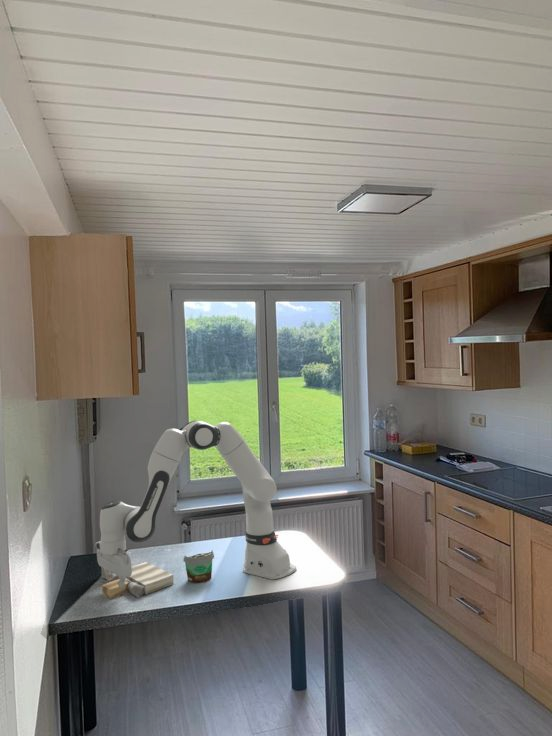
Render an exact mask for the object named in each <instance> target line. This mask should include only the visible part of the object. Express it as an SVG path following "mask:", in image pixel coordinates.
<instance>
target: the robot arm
mask: <svg viewBox="0 0 552 736" xmlns="http://www.w3.org/2000/svg"><path fill="white" fill-rule="evenodd" d="M214 447H215V448H216V450H217V451H218V453H219V454H220V455H221V457H222V458H223V460H224V462H225V463H226V464H227V467H228V468H230V470H231V471H232V473H233V474H234V475H235V477H236V478H237V479H238V480H239V482H240V483H241V488H242V489H241V490H242V498H243V504H244V511H245V524H246V525H245V526H246V530H245V542H246V546H245V551H244V552H245V553H244V563H243V569H242V572H243V573H245V574H249V575H253V576H257V577H262V578H265V579H268V580H269V579H270V580H276V579H283V578H284V577H287V576H289V575H292V574H293V573H294V572H295V571H296V570H297V566H296V565H294V564H292V563H291V561H290V556H289V555H290V554H289V553H288V552H287V550H286V549H285V548H284V547H283V546H282V545H281V544H280V542H279V541H278V540H277V538H279V537H278V536H279V535H278V534H276V532H275V530H274V520H273V519H274V517H273V516H274V515H273V512H274V511H273V509H272V506H271V505H272V504H271V501H272V500H273V499H274V498H275V496H277V495H276V494H277V490H278V489H277V484H276V482H275V480H274V479H273V477H272V476H271V474H270V473H269V472H268V471H267V469H266V468H265V466H264V465H263V464H262V463H261V461H260V460H259V459H258V458H257V456H256V455H255V453H253V451H252V449H251V448H250V447H249V445H248V443H247V442H246V441H245V439H244V438H243V436H242V434H241V433H240V432H239V431H238V430H237V429H236V428H235V427H234V426H233V425H232V424H231V423H230V422H227V421H221V422H219V423H217V424H215V425H212V424H210V423H208V422H206V421H203V420H192V421H190V422H188V423H186V424H185V425H184V426H182V427H181V428H180V429H178V428H168V429H166V430H165V431H164V432H163V433H162V435H161V436H160V437H159V439H158V441H157V443H156V444H155V446H154V448H153V450H152V452H151V455H150V457H149V460H148V464H147V473H148V486H147V491H146V492H145V496H144V498H143V500H142V503H141V505H140V506H138V505H130V504H127V503H125V502H123V501H121V500H113V501H110V502H107V503H105V504H104V505H102V507H101V509H100V511H99V512H100V513H99V528H100V529H99V530H100V535H101V536H100V540H101V541H100V540H99V541H97V542H95V549H96V559H97V563H98V566H99V567H100V568H101V567H103V568H104V571H105V574H106V579H105V580H107V581H110V580H112V574H111V572H112V573H114V574H116V575H118V576H119V579H120V581H119V582H118V586H119V587H124V586H125V579H126V577H129V576H131V574H132V561H131V556H130V555H129V554H127V551H126V550H127V541H126V536H127V537H128V539H129V540H130V541H132V542H133V543H144V542H147V541H148V540H149V539H150V538H152V537H153V535H154V534H155V530H156V517H157V514H158V511H159V510H160V506H161V503H162V502H163V499H164V496H165V495H166V491H167V489H168V486H169V484H170V482H171V480H172V478H173V476H174V474H175V472H176V470H177V467H178V466H179V464H180V462H181V459H182V456H183V455H184V453H186V452H185V451H187V450H188V449H190V448H191V449H196V450H200V451H204V450H207V449H210V448H214Z"/></svg>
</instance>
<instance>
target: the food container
mask: <svg viewBox="0 0 552 736" xmlns="http://www.w3.org/2000/svg"><path fill="white" fill-rule="evenodd" d="M213 559H215V553H214V550H211V551H209V552H206V553H197V554H194V555H192V556H191V555H190V556H186V555H184V557H183V562H184V563H185V570H186V577H187V582H188V583H193V584H202V583H206V582H209V581H210V580H211V579H212V571H213V570H212V569H213Z"/></svg>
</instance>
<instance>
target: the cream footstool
mask: <svg viewBox="0 0 552 736" xmlns="http://www.w3.org/2000/svg"><path fill="white" fill-rule="evenodd" d="M131 567H132V574H131V576H129V577H126V579H128V580H130V581H132V582H131V583H130V584H129V585H128V587H127V590H128V592H127V593H130V594H132V595H133V596H135V597H136V598H140V597H142V596H143V595H148V593H149V594H151V593H153V592H156V591H159V590H161V589H164V588H167V587H169V586H172V585H174V574H173V573H170V572H169V571H166V570H164V569H162V568H160V567H158V566H156V565H154V564H153V563H150V562H147V561H144V562H142V563H138V564H135V565H131ZM118 579H119V576H118V575H116V574H114V573H112V580H109V581H110V582H112V581H115V580H118Z"/></svg>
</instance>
